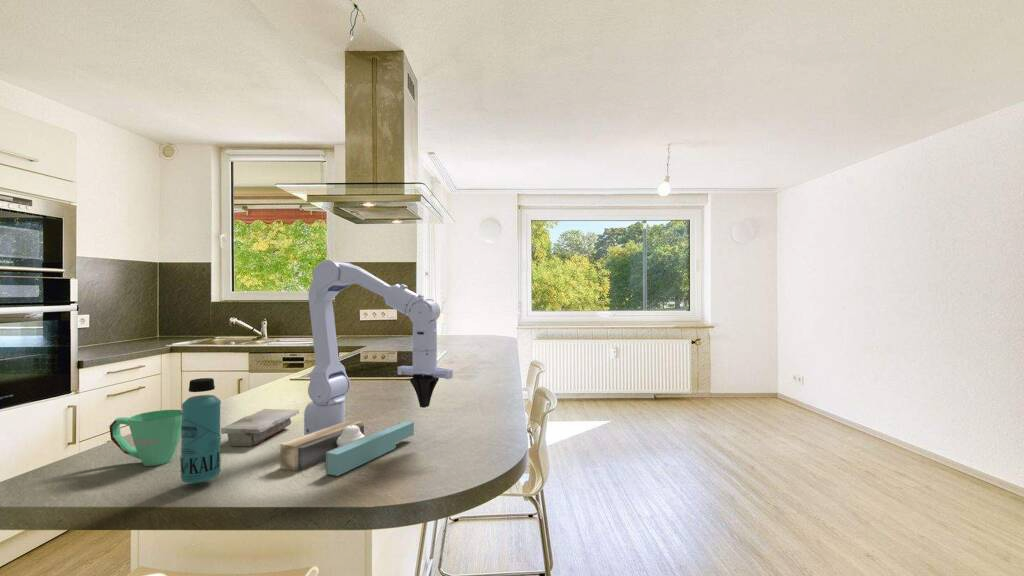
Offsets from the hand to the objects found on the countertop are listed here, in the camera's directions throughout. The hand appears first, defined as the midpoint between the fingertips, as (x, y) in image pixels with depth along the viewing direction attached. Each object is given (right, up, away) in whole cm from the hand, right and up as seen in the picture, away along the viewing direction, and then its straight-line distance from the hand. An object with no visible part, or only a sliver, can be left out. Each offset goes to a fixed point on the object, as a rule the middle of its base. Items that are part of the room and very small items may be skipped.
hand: (424, 406), depth 115 cm
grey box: (-47, -7, +6) cm, 48 cm away
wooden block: (-21, -9, -8) cm, 24 cm away
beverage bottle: (-38, -9, -24) cm, 46 cm away
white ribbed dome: (-14, -9, -9) cm, 19 cm away
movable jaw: (-9, -8, -9) cm, 16 cm away
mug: (-57, -9, -12) cm, 59 cm away
